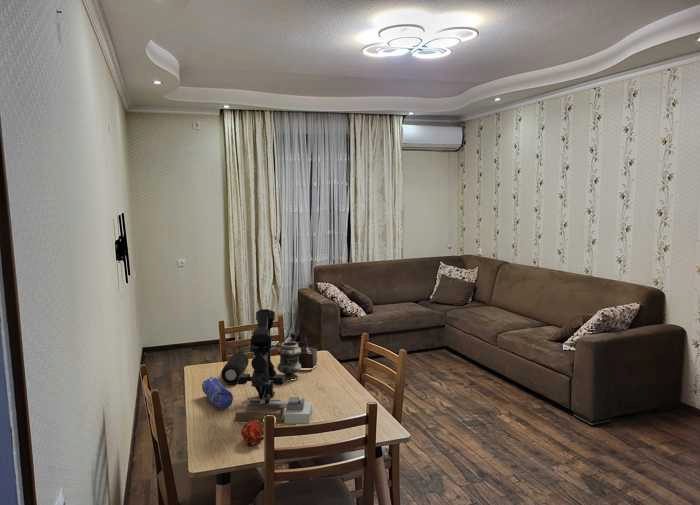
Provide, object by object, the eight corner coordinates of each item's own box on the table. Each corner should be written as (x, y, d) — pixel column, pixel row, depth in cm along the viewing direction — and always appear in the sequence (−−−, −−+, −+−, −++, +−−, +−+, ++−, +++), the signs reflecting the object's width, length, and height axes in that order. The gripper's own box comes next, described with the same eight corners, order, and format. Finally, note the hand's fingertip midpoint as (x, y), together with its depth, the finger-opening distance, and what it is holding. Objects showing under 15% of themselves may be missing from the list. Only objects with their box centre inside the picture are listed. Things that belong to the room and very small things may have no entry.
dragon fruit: (258, 438, 197) (253, 457, 185) (239, 426, 195) (233, 445, 184) (270, 422, 195) (266, 440, 183) (252, 410, 194) (246, 428, 182)
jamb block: (289, 411, 218) (288, 394, 217) (312, 411, 218) (312, 394, 217) (284, 423, 206) (284, 405, 206) (309, 423, 206) (309, 405, 205)
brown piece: (318, 364, 282) (317, 332, 280) (312, 371, 271) (312, 337, 269) (291, 362, 285) (290, 331, 283) (284, 369, 274) (284, 336, 272)
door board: (242, 410, 219) (242, 396, 218) (284, 411, 218) (284, 396, 218) (235, 422, 207) (235, 407, 206) (279, 423, 206) (279, 408, 206)
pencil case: (201, 396, 235) (201, 376, 234) (220, 393, 240) (219, 373, 239) (214, 413, 216) (213, 391, 215) (234, 409, 220) (233, 387, 220)
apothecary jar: (297, 382, 253) (297, 347, 252) (274, 381, 255) (274, 346, 253) (303, 374, 265) (303, 340, 263) (281, 373, 267) (281, 339, 265)
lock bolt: (259, 407, 211) (259, 396, 210) (261, 405, 213) (260, 394, 213) (288, 408, 211) (288, 396, 210) (289, 405, 213) (289, 394, 212)
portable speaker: (240, 385, 249) (240, 365, 248) (220, 385, 249) (219, 365, 248) (249, 368, 275) (249, 350, 274) (231, 369, 275) (230, 350, 274)
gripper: (233, 368, 203) (234, 406, 204) (280, 369, 202) (280, 407, 203) (240, 360, 214) (241, 396, 215) (284, 360, 213) (285, 396, 214)
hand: (261, 399), depth 212 cm, fingers closed
